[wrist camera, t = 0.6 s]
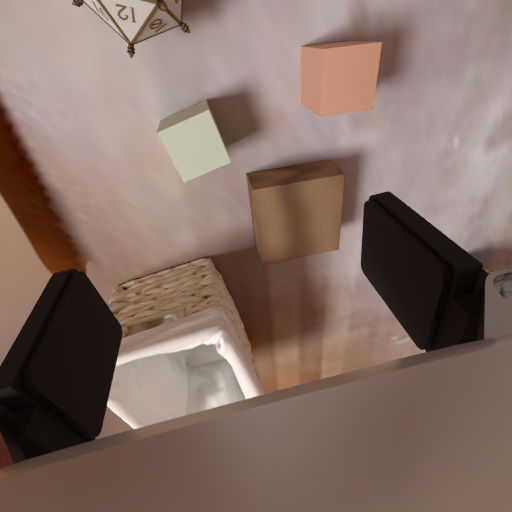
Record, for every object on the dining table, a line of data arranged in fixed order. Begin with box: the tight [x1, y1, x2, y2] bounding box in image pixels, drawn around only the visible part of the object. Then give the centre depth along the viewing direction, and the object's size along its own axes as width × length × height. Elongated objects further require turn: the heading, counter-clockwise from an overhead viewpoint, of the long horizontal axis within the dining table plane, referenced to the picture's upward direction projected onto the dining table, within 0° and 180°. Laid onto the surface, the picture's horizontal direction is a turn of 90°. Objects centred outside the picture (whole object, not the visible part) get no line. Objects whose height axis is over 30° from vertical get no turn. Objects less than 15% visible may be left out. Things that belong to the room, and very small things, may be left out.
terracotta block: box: [301, 41, 382, 116], centre depth 28 cm, size 5×5×6 cm
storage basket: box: [107, 258, 265, 429], centre depth 42 cm, size 24×16×15 cm
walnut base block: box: [246, 160, 345, 264], centre depth 37 cm, size 10×10×5 cm
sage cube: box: [157, 100, 231, 182], centre depth 30 cm, size 5×5×5 cm
